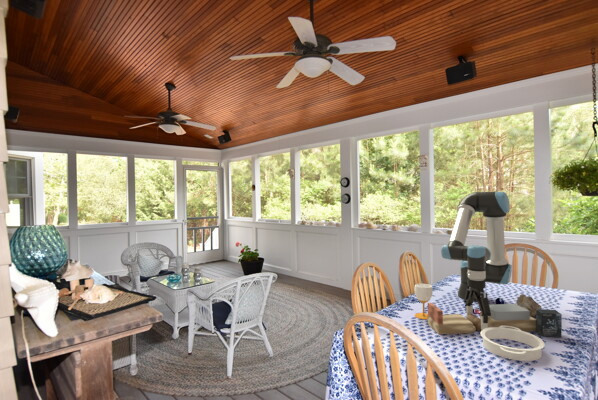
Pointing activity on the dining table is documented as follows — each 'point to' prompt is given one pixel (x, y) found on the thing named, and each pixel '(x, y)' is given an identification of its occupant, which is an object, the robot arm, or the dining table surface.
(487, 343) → the cream oval ring
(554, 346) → the dining table surface
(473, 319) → the roller
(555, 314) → the box
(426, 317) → the cup
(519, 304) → the rock
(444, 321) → the track
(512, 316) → the slab
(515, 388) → the dining table surface
